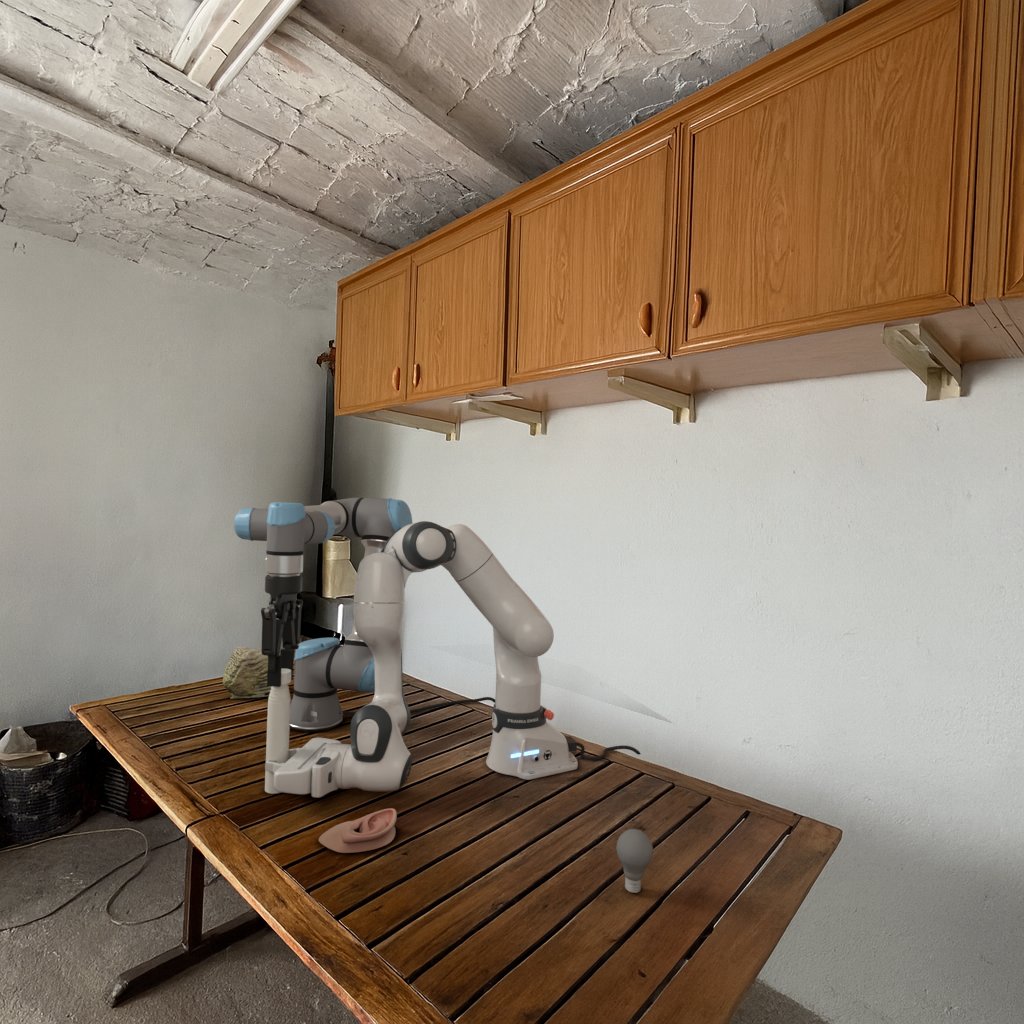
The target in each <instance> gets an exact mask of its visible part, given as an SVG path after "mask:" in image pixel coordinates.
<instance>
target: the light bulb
mask: <svg viewBox="0 0 1024 1024" xmlns="http://www.w3.org/2000/svg"><path fill="white" fill-rule="evenodd" d="M615 849H616V854H617V857H618V859H619V861H620V863H621V865H622V867H623V873H624V874H623V875H624V876H625V878H624V888H625V890H627V891H628V892H630V893H634V894H635V893H639V892H640V891H641V889H642V887H641V886H642V879H643V877H644V875H645V871H646V868H647V867H648V866H649V864H650V863H651V861H652V859H653V855H654V847H653V843H652V841H651V838H649V836H648V835H647V834H646V833H645V832H643V831H642V830H641V829H636V828H629V829H627V830H625V831H623V832H622V833H621V834H620V835H619V837H618V839H617V841H616V847H615Z"/></svg>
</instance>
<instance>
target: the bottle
mask: <svg viewBox="0 0 1024 1024" xmlns="http://www.w3.org/2000/svg"><path fill="white" fill-rule="evenodd" d="M289 688H290V686H289V684H285V685H281V686H280V687H274V686H272V687H271V690H270V694H269V696H268V700H267V718H266V744H265V745H266V746H265V764H266V763H267V762H268V761H269V760H272V761H273V760H274V761H276V763H279V764H281V763H286V762H287V761H288V760H289V759H288V757H289V749H290V730H291V729H290V704H291V702H292V699H291V692H290V689H289ZM264 770H265V769H264ZM264 773H265V774H264V792H265V793H267V794H271V795H273V794H280V793H282V792H279V791H277V790H275V789H274V786H273V783H274V773H273V772H269V771H266V770H265V772H264Z"/></svg>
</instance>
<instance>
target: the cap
mask: <svg viewBox="0 0 1024 1024" xmlns="http://www.w3.org/2000/svg"><path fill="white" fill-rule="evenodd" d="M291 682H292V680H291V670H290V669H285V668H281V685H285V684H288V685H289V684H291Z"/></svg>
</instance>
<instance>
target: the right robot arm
mask: <svg viewBox="0 0 1024 1024" xmlns="http://www.w3.org/2000/svg"><path fill="white" fill-rule="evenodd" d="M440 566H441V567H442V568H444V569H445V570H446V571H448V573H449V575H451V577H452V578H453V580H454V581H455V582H456V584H457V585H458V586H459V588H460V589H461V590H462V592H463V593H464V594H465V596H466V597H468V599H469V601H470V602H471V603H472V604H473V605H474V607H475V608H476V609H477V610H478V611H479V612H480V614H481V615H482V616H483V617H484V619H486V621H487V622H488V623H489V624H490V625H491V627H492V632H493V633H492V634H493V651H494V652H493V653H494V661H495V698H494V699H495V703H494V704H493V705H492V706H493V708H492V715H491V725H492V727H491V728H492V736H491V742H490V747H489V750H488V754H487V757H486V760H485V765H486V766H487V767H488V768H489V769H491V770H492V771H494V772H496V773H499V774H502V775H507V776H513V777H517V778H519V779H522V780H525V781H526V780H527V781H531V780H535V779H539V778H543V777H547V776H552V775H557V774H563V773H566V772H570V771H575V770H577V769H578V768H579V762H578V759H577V757H576V756H575V755H574V754H573V752H577V749H578V748H577V747H579V748H580V752H579V755H580V757H581V758H582V759H583V760H587V761H599V760H602V759H605V758H606V757H607V753H608V752H611V751H618V750H629V751H632V752H634V753H635V754H636V755H641V754H642V753H641V752H640V751H639V750H638V749H636V747H633V746H630V745H623V744H622V745H614V746H609V747H605V748H604V749H603V752H602V754H600V755H596V756H588V755H585V754H584V753H585V749H586V748H585V745H584V744H583V743H581V742H578V741H576V740H575V739H574V738H573V737H572V736H571V735H569V736H565V735H564V734H563V733H562V732H561V731H559V729H558V728H556V727H555V726H554V725H553V724H551V723H550V722H549V721H552V720H553V719H554V718H555V713H554V712H553V711H552V710H550V709H547V707H544V705H541V695H542V671H541V668H540V663H539V657H541V656H543V655H545V654H546V653H548V651H549V650H550V649H551V647H552V645H553V643H554V636H555V635H554V634H555V633H554V628H553V627H552V624H551V623H550V621H549V620H548V618H547V617H546V616H545V614H544V613H543V612H542V610H541V609H540V608H539V607H538V606H537V605H536V603H535V602H534V601H533V600H532V599H531V597H530V596H529V595H528V594H527V593H526V592H525V591H524V589H523V588H522V587H521V586H520V585H519V584H518V583H517V581H515V579H513V577H512V576H511V575H510V573H509V571H507V569H506V568H505V567H504V566H503V564H502V563H501V562H500V561H499V559H498V558H497V557H496V555H495V554H494V553H493V551H492V550H491V549H490V548H489V546H488V545H487V544H486V543H485V541H483V540H482V539H481V538H480V536H479V535H478V534H476V532H474V531H473V530H472V529H471V528H470V527H468V526H467V525H466V524H461V523H456V524H453V525H450V526H448V527H444V526H442V525H441V524H439V523H436V522H433V521H426V520H424V521H423V520H422V521H419V522H412V524H409V525H406V526H404V527H403V528H401V529H399V530H397V531H395V532H394V533H393V534H392V535H391V536H390V537H389V539H388V540H387V542H386V544H385V546H384V547H383V549H382V551H381V552H378V553H373V554H370V555H368V556H366V557H364V556H363V558H362V559H361V560H360V562H359V565H358V569H357V572H356V577H355V584H354V591H353V610H352V611H353V613H352V615H353V622H354V625H355V630H356V634H357V635H358V636H359V638H360V639H361V640H362V641H363V642H365V643H366V644H367V646H368V647H369V648H370V650H371V652H372V654H373V657H374V671H375V692H374V695H373V698H372V699H371V702H370V703H367V704H366V705H364V706H362V707H361V708H359V709H358V710H357V711H356V713H355V715H354V716H353V715H352V718H351V720H350V725H349V734H350V735H349V736H350V743H342V742H341V741H340V740H337V739H333V738H327V737H313V738H311V739H310V740H309V741H307V742H306V743H305V744H304V745H303V746H302V747H296V748H295V747H294V748H289V757H288V761H287V762H286V763H281V764H279V763H276V761H274V760H273V761H272V760H269V761H268V762H267V763H266V762H265V764H264V770H266V771H269V772H273V773H274V783H273V786H274V789H275V790H277V791H279V792H281V793H284V794H285V793H286V794H293V795H309V794H310V795H311V797H312V798H316V799H317V798H318V799H319V798H322V797H324V796H325V795H327V794H329V793H331V792H333V791H337V790H338V789H340V790H341V789H342V790H349V789H360V790H361V791H365V792H378V793H379V792H381V793H383V792H384V793H385V792H395V791H398V790H400V789H401V788H403V786H404V785H405V784H406V782H407V781H408V777H409V776H410V773H411V770H412V765H413V754H412V753H411V752H410V751H409V749H408V747H407V746H406V744H405V741H404V739H403V736H404V735H405V734H406V733H407V731H408V730H409V728H410V725H411V721H412V720H411V717H412V715H411V714H412V713H410V710H411V709H410V707H409V704H408V701H407V699H406V697H405V693H404V682H403V681H404V677H403V675H404V673H403V636H404V635H403V633H404V632H403V631H404V626H405V625H404V624H405V610H406V609H405V608H406V604H405V602H406V591H405V589H406V586H407V581H408V579H409V577H410V576H411V575H412V574H414V573H422V572H424V571H427V570H433V569H436V568H438V567H440Z"/></svg>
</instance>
